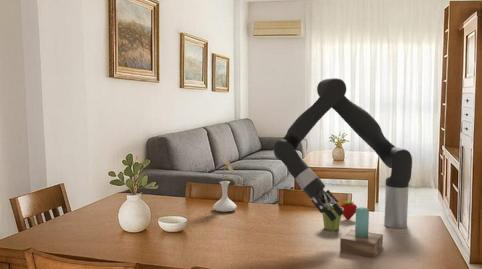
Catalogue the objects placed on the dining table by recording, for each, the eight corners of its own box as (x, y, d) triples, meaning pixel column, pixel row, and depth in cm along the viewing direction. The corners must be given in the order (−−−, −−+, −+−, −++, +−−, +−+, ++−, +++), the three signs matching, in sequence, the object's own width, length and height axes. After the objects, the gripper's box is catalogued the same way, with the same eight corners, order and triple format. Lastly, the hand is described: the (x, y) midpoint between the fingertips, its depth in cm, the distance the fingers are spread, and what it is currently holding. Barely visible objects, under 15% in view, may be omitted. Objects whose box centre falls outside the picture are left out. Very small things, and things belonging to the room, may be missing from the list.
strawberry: (358, 221, 203) (358, 199, 202) (340, 221, 203) (341, 199, 202) (355, 218, 209) (355, 196, 208) (338, 217, 209) (338, 196, 208)
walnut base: (350, 242, 176) (350, 229, 176) (382, 247, 170) (382, 234, 170) (340, 251, 166) (340, 238, 165) (373, 258, 160) (374, 244, 159)
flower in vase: (236, 213, 216) (236, 160, 213) (211, 213, 216) (211, 160, 213) (237, 206, 229) (237, 156, 226) (213, 206, 229) (213, 156, 226)
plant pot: (343, 232, 188) (343, 211, 187) (319, 231, 190) (320, 210, 189) (343, 226, 197) (343, 206, 196) (320, 224, 199) (320, 204, 198)
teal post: (357, 233, 171) (357, 206, 170) (369, 235, 168) (370, 208, 167) (353, 236, 167) (354, 209, 166) (366, 239, 164) (367, 211, 163)
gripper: (309, 179, 168) (339, 215, 163) (323, 173, 180) (351, 206, 176) (295, 192, 171) (324, 227, 167) (310, 185, 183) (337, 218, 179)
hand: (338, 216), depth 171 cm, fingers open, 8 cm apart
